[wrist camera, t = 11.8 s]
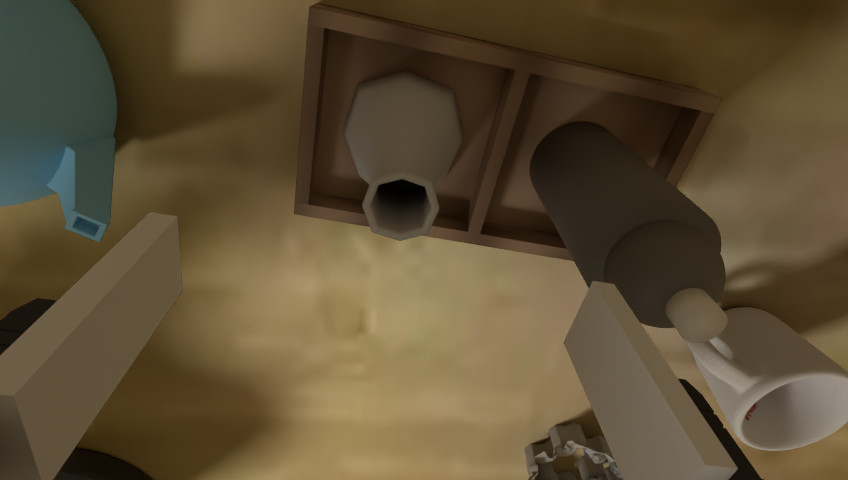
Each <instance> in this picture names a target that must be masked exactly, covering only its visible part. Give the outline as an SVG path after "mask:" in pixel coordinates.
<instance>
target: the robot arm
mask: <svg viewBox="0 0 848 480" xmlns="http://www.w3.org/2000/svg"><path fill="white" fill-rule="evenodd" d="M181 292H182V279H181V263H180V247H179V231H178V216H173V215H166V214H160V213H154V212H149V213H148V214H147V215H146V216H145V217H144V218H143V219H142V220H141V221H140V222H139V223H138V224H137V225H136V226H135V227H134V228H133V229H132V230H131V231H129V232H128V233H127V234H126V235H125V236H124V237H123V238H122V239H121V240H120V241H119V242H118V243H117V244H116V245H115V246H114V247H113V248H112V249H111V250H110V251H109V252H108V253H107V254H106V255H104V256H103V257H102V258H101V259H100V260H99V261H98V262H97V263H96V264H95V265H94V266H93V267H92V268H91V269H90V270H89V271H88V272H87V273H86V274H85V275H84V276H83V277H82V278H81V279H79V280H78V281H77V282H76V283H75V284H74V285H73V286H72V287H71V288H70V289H69V290H68V291H67V292H66V293H65V294H64V295H63V296H62V297H61V298H60V299H59V300H58V301H55V300H47V299H39V298H37V299H35V300H33V301H31V302H29V303H27V304H25V305H23V306H21V307H19V308H17V309H15V310H13V311H11V312H10V313H9V314H8V315H7V316H6V317H4V318H3V319H2V320H1V321H0V480H150V479H149V478H148V477H147V476H145V475H144V474H143V473H141V472H140V471H138V470H137V469H135V468H134V467H132V466H130V465H128V464H126V463H124V462H122V461H119V460H117V459H114V458H112V457H109V456H106V455H103V454H99V453H95V452H91V451H86V450H80V449H74V448H75V447H76V445H77V444H78V442H79V441H80V440H81V438H82V437H83V435H84V434H85V432H86V431H87V429H88V428H89V426H90V425H91V423H92V422H93V421H94V419H95V418H96V416H97V415H98V413H99V412H100V410H101V409H102V407H103V406H104V404H105V403H106V402H107V400H108V399H109V397H110V396H111V394H112V393H113V391H114V390H115V388H116V387H117V386H118V384H119V383H120V381H121V380H122V378H123V377H124V375H125V374H126V372H127V371H128V369H129V368H130V367H131V365H132V364H133V362H134V361H135V359H136V358H137V356H138V355H139V353H140V352H141V350H142V349H143V348H144V346H145V345H146V343H147V342H148V340H149V339H150V337H151V336H152V334H153V333H154V332H155V330H156V329H157V327H158V326H159V324H160V323H161V321H162V320H163V318H164V317H165V315H166V314H167V313H168V311H169V310H170V308H171V307H172V305H173V304H174V302H175V301H176V299H177V298H178V296H179V295H180V294H181ZM564 344H565V347H566V349H567V351H568V354H569V356H570V358H571V360H572V363H573V365H574V367H575V370H576V372H577V374H578V377H579V379H580V381H581V384H582V386H583V388H584V391H585V393H586V395H587V397H588V400H589V402H590V404H591V407H592V409H593V411H594V414H595V416H596V418H597V421H598V423H599V425H600V428H601V430H602V432H603V434H604V437H605V439H606V441H607V444H608V446H609V448H610V451H611V453H612V455H613V458H614V460H615V462H616V465H617V467H618V469H619V472H620V474H621V476H622V478H623V480H763V479H761V478H760V476H759V475H758V474H757V472H756V471H755V469H754V468H753V466H752V465H751V464H750V462H749V461H748V459H747V458H746V456H745V455H744V454H743V452H742V451H741V449H740V448H739V447H738V445H737V444H736V442H735V441H734V439H733V438H732V437H731V435H730V434H729V432H728V431H727V429H726V428H723V424H722V422H721V421H720V420H719V418H718V417H717V415H714V413H713V412H714V411H713V410H712V408H711V407H710V405H709V404H708V403H707V401H706V400H705V398H704V397H703V395H702V394H701V393H699V392H698V391H697V390H696V389H695V388H694V387H693V386H692V385H691V384H690V383H689V382H687V381H686V380H684V379H678V378H677V377H676V376H675V374H674V373H673V371H672V370H671V368H670V367H669V365H668V364H667V362H666V361H665V359H664V358H663V356H662V355H661V353H660V352H659V350H658V349H657V347H656V346H655V344H654V343H653V341H652V340H651V338H650V337H649V335H648V334H647V332H646V331H645V329H644V328H643V326H642V325H641V323H640V322H639V320H638V319H637V318H636V316H635V315H634V313H633V312H632V310H631V309H630V307H629V306H628V304H627V303H626V301H625V300H624V298H623V297H622V295H621V294H620V292H619V291H618V289H617V288H616V286H615V285H614V284H610V283H604V282H598V281H592V283H591V286H590V288H589V290H588V292H587V294H586V296H585V298H584V300H583V302H582V305H581V307H580V309H579V311H578V313H577V315H576V317H575V319H574V322H573V324H572V326H571V328H570V330H569V332H568V334H567V336H566V338H565V341H564Z"/></svg>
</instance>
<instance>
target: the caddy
mask: <svg viewBox="0 0 848 480" xmlns="http://www.w3.org/2000/svg"><path fill="white" fill-rule="evenodd" d="M406 70H407V71H409V72H412V73H414V74H417V75H419V76H422V77H424V78H426V79H429V80H431V81H434V82H436V83H439V84H441V85H443V86H446V87H448V88H451V89H453V90H454V94H455V98H456V102H457V107H458V111H459V115H460V120H461V124H462V128H463V133H464V139H463V141H462V144H461V146H460V148H459V150H458V152H457V154H456V157H455V159H454V161H453V163H452V165H451V168H450V170H449V172H448V174H447V176H446V178H445V179H444V180H443V181H442V182H441V183H439V184H438V185H437V186H435V187H434V190H435V193H436V197H437V201H438V204H439V211H438V213H437V216H436V218H435V220H434V222H433V224H432V226H431V228H430V231H429V233H428V234H426V235H422V236H428V237H434V238H440V239H446V240H452V241H458V242H464V243H470V244H476V245H482V246H488V247H494V248H500V249H506V250H512V251H518V252H524V253H530V254H535V255H541V256H547V257H553V258H559V259H565V260H571V261H574V260H573V258H572V256H571V255H570V253H569V251H568V249H567V247H566V245H565V244H564V242H563V240H562V238H561V236H560V235H559V233H558V231H557V229H556V227H555V225H554V224H553V222H552V220H551V218H550V216H549V214H548V213H547V211H546V209H545V207H544V205H543V204H542V202H541V200H540V198H539V196H538V194H537V193H536V191H535V189H534V187H533V185H532V182H531V179H530V169H529V168H530V162H531V158H532V155H533V153H534V151H535V149H536V147H537V146H538V144H539V143H540V142H541V140H542V139H543V138H544V137H545V136H546V135H548V134H549V133H550V132H551V131H553V130H554V129H556V128H558V127H560V126H562V125H564V124H567V123H571V122H577V121H587V122H593V123H596V124H599V125H601V126H603V127H604V128H606V129H607V130H608V131H609V132H611V133H612V134H613V135H614V136H615V137H617V138H618V139H619V140H620V141H621V142H622V143H624V144H625V145H626V146H627V147H628V148H629V149H631V150H632V151H633V152H634V153H635V154H637V155H638V156H639V157H640V158H641V159H642V160H644V161H645V162H646V163H647V164H648V165H650V166H651V167H652V168H653V169H654V170H655V171H657V172H658V173H659V174H660V175H661V176H662V177H664V178H665V179H666V180H667V181H668V182H670V183H671V184H672V185H673V186H674V187H676V185H677V184H678V182H679V180H680V178H681V176H682V174H683V172H684V170H685V168H686V166H687V165H688V163H689V161H690V159H691V157H692V155H693V153H694V151H695V149H696V148H697V146H698V144H699V142H700V140H701V138H702V136H703V134H704V132H705V131H706V129H707V127H708V125H709V123H710V121H711V119H712V117H713V115H714V113H715V112H716V110H717V108H718V106H719V104H720V102H721V100H722V99H720V98H718V97H716V96H714V95H711V94H709V93H707V92H704V91H702V90H700V89H696V88H692V87H688V86H683V85H679V84H674V83H670V82H665V81H661V80H657V79H652V78H648V77H643V76H639V75H634V74H630V73H626V72H621V71H617V70H612V69H608V68H603V67H599V66H594V65H590V64H586V63H581V62H577V61H572V60H568V59H563V58H559V57H555V56H550V55H546V54H541V53H537V52H532V51H528V50H524V49H519V48H515V47H510V46H506V45H501V44H497V43H493V42H488V41H484V40H479V39H475V38H470V37H466V36H461V35H457V34H453V33H448V32H444V31H439V30H435V29H430V28H426V27H422V26H417V25H413V24H408V23H404V22H399V21H395V20H391V19H386V18H382V17H377V16H373V15H368V14H364V13H359V12H355V11H351V10H346V9H342V8H337V7H333V6H328V5H324V4H320V3H317V4H315V5H312V6H310V7H309V18H308V31H307V45H306V58H305V72H304V85H303V99H302V112H301V126H300V140H299V153H298V167H297V180H296V194H295V207H294V214H297V215H303V216H309V217H315V218H321V219H327V220H333V221H339V222H345V223H351V224H357V225H363V226H369V227H370V225H369V223H368V220H367V217H366V215H365V212H364V209H363V207H362V204H363V201H364V198H365V196H366V193H367V190H368V188H369V184H368V183H367V182H366V181H365V180H364V179H363V178H361V177H360V175H359V174H358V171H357V169H356V166H355V163H354V161H353V158H352V155H351V152H350V150H349V147H348V144H347V141H346V139H345V136H344V133H343V128H344V125H345V122H346V119H347V115H348V112H349V109H350V106H351V103H352V100H353V97H354V93H355V90H356V87H357V84H360V83H364V82H367V81H371V80H374V79H378V78H381V77H385V76H388V75H392V74H395V73H399V72H402V71H406Z"/></svg>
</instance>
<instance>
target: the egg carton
mask: <svg viewBox="0 0 848 480" xmlns="http://www.w3.org/2000/svg"><path fill="white" fill-rule="evenodd" d="M548 431H549V434H550V437H551V438H550V440H549V441H548V442H546V443H544V444H539V445H536V444H530V445H528V446H527V447H525V448H524V449H525V454H526V463H527V469H528V474H529V476H530V478H529V480H577V478H576V475H575V474H574V473H573V472H569V471H564V472H560V473H556V472H554V469H553V466H552V464H551V462H550V461H553V460H554V459H555V458H556V456H558V457H567V456H570V455H572V454H573V453H574V452H575V451H576V450H577V449H579V448H582V447H583V450H584V453H585V455H584V456H582V457H580V458H579V459H578V461H577V465H578V468H579V471H580V474H581V477H582V480H623V478H622V476H621V474H620V472H619V469H618V467H617V465H616V462H615V460H614V458H613V455H612V453H611V451H610V449H609V446H608V444H607V441H606V439H605V438H603V437H601V436H596V437H594V438H590V439H586V438H585V436H584V433H583V430H582V428H581V426H580V425H579V424H577V423H574V422H573V423H571V424H569V425H566V426H559V425H555V426H553V427H552V428H550V429H549V430H548ZM606 459H608V462H609V465H610V467H607V468H604V467H603V464H602V463H603V462H604V461H605V460H606Z"/></svg>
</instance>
